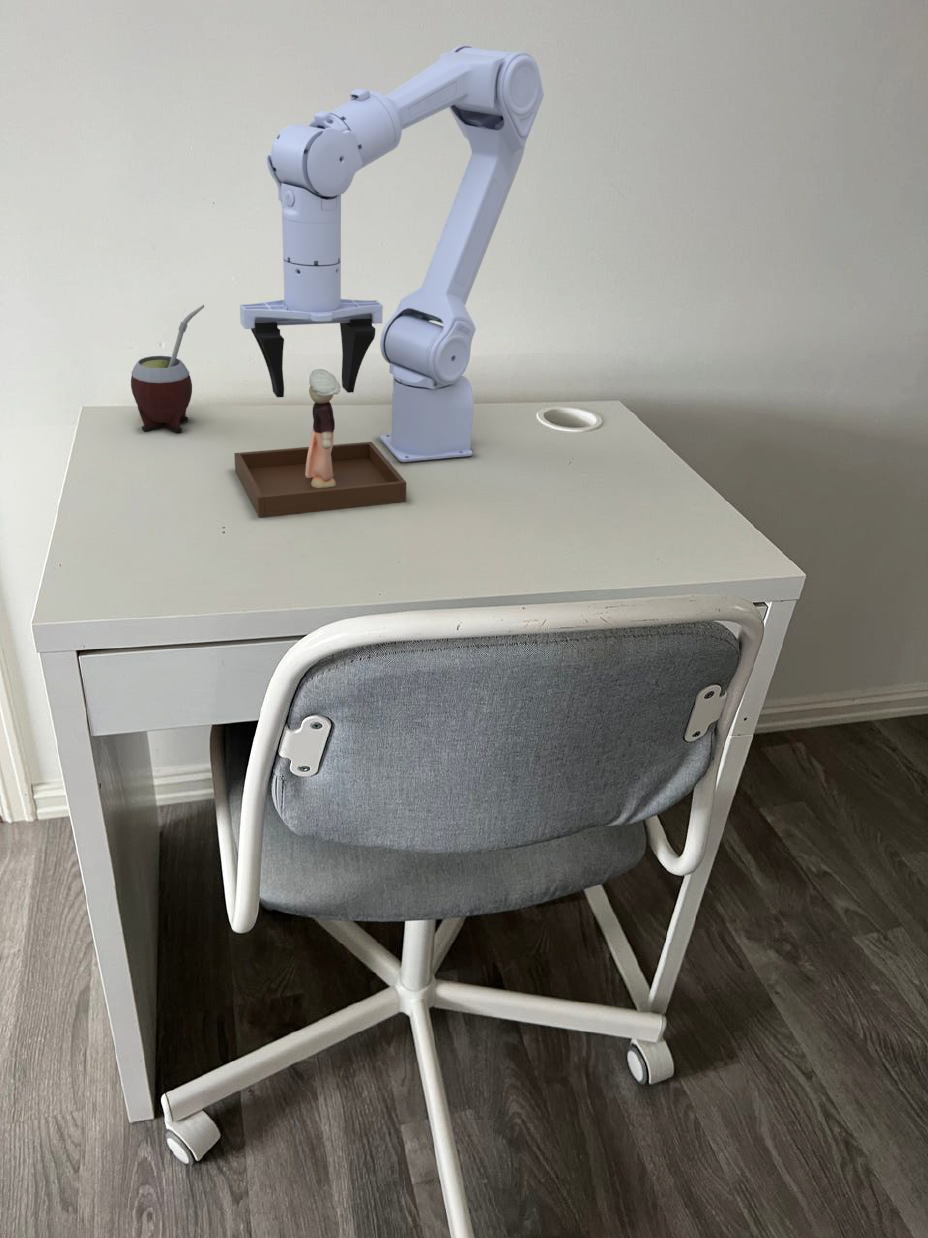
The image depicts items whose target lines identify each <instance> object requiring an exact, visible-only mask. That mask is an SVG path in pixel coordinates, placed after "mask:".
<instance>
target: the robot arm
mask: <svg viewBox="0 0 928 1238" xmlns="http://www.w3.org/2000/svg"><path fill="white" fill-rule="evenodd" d="M349 97H350V100H348V101H346V102H345V103H342V104H341V105H339V106H337V107H336V108H334V109H332V110H330V111H326V110H325V111H324V110H320V111H318V112H317V113H315V114H314V115H313V118H314V119H313V120H312V121H311V122H310V123H309V124H308V125H305V124H301V123H291V124H288V125H287V126H285V127H284V128H282V129H281V130H280V131H279V133H278V134H277V135H276V137H275V139H274V140H273V143H272V146H271V149H270V154H268V155H266V164H267V168H268V171H269V174H270V176H271V177H272V180H274V182H275V183H276V187H277V192H278V193H277V195H278V201H280V204H281V225H282V226H281V227H282V228H281V230H282V231H281V232H282V264H283V265H282V267H283V269H282V270H283V299H279V300H272V301H271V300H270V301H264V302H258V303H245V304H244V303H243V304H239V315H240V316H239V319H240V325H241V327H243V328H244V330H251V333H252V334H253V336H254V339H255V341H256V343H257V345H258V347H259V349H260V351H261V354H262V356H263V359H264V362H265V364H266V367H267V371H268V374H269V378H270V382H271V388H272V392H273V394H274V396H275V397H276V398H284V397H285V383H284V382H285V381H284V370H283V368H284V367H283V365H284V360H283V358H284V345H285V338H284V337H283V336H282V334H281V329H280V328H279V326H301V325H305V326H306V325H325V324H326V325H327V324H328V325H329V324H339V328H340V329H339V330H340V338H341V351H342V354H341V355H342V358H341V359H342V360H341V387H342V388H343V390H345V392H346V393H348V394H349V393H352V394H353V393H354V392H355V387H356V383H357V378H358V374H359V371H360V369H361V365H362V362H363V360H364V358H365V356H366V353H367V352H368V349H370V346H371V344H372V343H373V341H374V340H375V338H376V328H375V326H373V324H374V325H376V324H383V311H384V310H383V309H384V307H383V306H384V305H383V304H382V303H381V302H379V301H378V300H377V299H376V300H373V299H372V300H371V299H370V300H367V299H365V300H364V299H348V298H342V293H341V292H342V195H344V194H345V193H346V192H347V191H348V189H349V188H350V186H351V184H352V183H353V179H354V177H355V175H356V173H357V172H358V171H360V170H362V169H363V168H366V167H367V166H369V165H370V164H372V163H374V162H375V161H377V160H379V159H380V158H382V157H384V156H385V155H387V154H389V153H390V152H393V151H394V150H395V149H396V148H397V147H398V146H399V145H400V142H401V139H402V132H403V130H406V129H407V128H409V127H411V126H414V125H416V124H417V123H420V122H421V121H423V120H426V119H428V118H430V117H432V116H434V115H436V114H438V113H440V112H442V111H444V110H446V109H449V111H450V113H451V114H452V117H453V119H454V120H455V122H456V124H457V126H458V128H459V130H460V132H461V133H462V135H463V138H465V139H466V140H467V141H468V143H469V146H470V149H471V155H470V157H469V159H468V163H467V165H466V167H465V171H464V173H463V176H462V179H461V180H460V184H459V186H458V189H457V191H456V194H455V196H454V200H453V202H452V205H451V207H450V210H449V213H448V215H447V219H445V223H444V226H443V229H442V230H441V234H440V237H439V239H438V242H437V244H436V247H435V250H434V252H433V254H432V258H431V260H430V263H429V265H428V268H427V271H426V273H425V276H424V279H423V281H422V284H421V286H420V287H419V288H418V289H415V290H414V291H413V292H410V293H408V294H407V295H405V296H403V297H402V298H401V299H400V300H399V303H398V306H397V308H396V310H395V311H394V313H393V315H391V317H390V318H389V319H388V320H387V321H386V322H385V324H384V326H383V328H382V331H381V334H380V342H379V347H380V353H381V355H382V357H383V359H384V360H385V362H387V363H388V364H389V374H391V375H392V403H391V429H390V433H389V434H380V436H379V439H380V441H381V442H382V443H383V444H384V445H385V446H386V448H387V449H388V450H389V451H390V453H392V454H393V456H394V457H395V458H396V459H397V461H399V462H401V463H408V462H419V461H430V460H441V459H450V458H451V459H452V458H463V457H472V456H473V451H472V450H471V444H472V431H473V421H474V420H473V419H474V404H475V403H474V392H473V388H472V385H471V382H470V381H469V379H468V378H467V377H466V376H464V373H465V371H466V370H467V367H468V365H469V363H470V357H471V347H472V341H473V338H474V336H475V333H476V330H477V329H476V326H475V323H474V321H473V319H472V317H471V315H470V313H469V311H468V309H467V308H466V304H467V302H468V299H469V297H470V294H471V291H472V288H473V286H474V283H475V281H476V278H477V275H478V273H479V270H480V267H481V265H482V263H483V260H484V258H485V255H486V253H487V249H488V248H489V245H490V242H491V240H492V237H493V235H494V232H495V229H496V226H497V224H498V221H499V219H500V217H501V214H502V211H503V209H504V206H505V204H506V201H507V199H508V196H509V193H510V191H511V188H512V185H513V183H514V180H515V179H516V175H517V173H518V170H519V167H520V165H521V163H522V159H523V156H524V152H525V148H526V142H527V140H528V138H529V135H530V132H531V129H532V127H533V125H534V122H535V119H536V117H537V114H538V111H539V109H540V106H541V104H542V102H543V99H544V97H545V95H544V90H543V84H542V79H541V73H540V69H539V65H538V63H537V61H536V58H534V56H532V55H531V53H528V52H527V51H519V50H518V51H513V52H512V51H505V50H494V49H484V48H477V47H476V48H475V47H472V46H470V45H463V44H462V45H458V46H456V47H454V48H453V49H452V50H451V51H446V52H442V53H440V55H439V57H438V60H437V61H436V62H434V63H433V64H431V65H430V66H428V67H426V68H425V69H424V70H422V71H421V72H419V73H417V74H416V75H414V76H413V77H412V78H410V79H408V80H406V81H405V82H404V83H402V84H401V85H399V86H397V88H395V89H394V90H392V91H391V92H389V93H387V94H385V95H384V94H383V93H381V92H379V91H377V90H373V89H370V90H369V89H366V88H359V87H358V88H356V89H354V90H352V91H350V93H349ZM433 321H434V322H433ZM436 322H437V323H436ZM438 323H440V324H438ZM441 324H443V325H441Z"/></svg>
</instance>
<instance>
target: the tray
mask: <svg viewBox="0 0 928 1238" xmlns="http://www.w3.org/2000/svg"><path fill="white" fill-rule="evenodd" d="M308 450H309V446H304V447H303V446H302V447H291V448H290V447H289V448H278V449H266V450H255V451H244V452H242V451H241V452H234V453H233V454H234V455H233V457H234V472H235V474H236V476H237V478H238V479H239V482H240V484H241V485H242V487H243V489H244V491H245V493H246V495H247V497H248V499H249V501H250V504H251V505H252V508H253V509H254V511H255V513H256V515H257V516H258V518H267V517H268V518H269V517H277V516H286V515H287V516H288V515H295V514H304V513H311V512H312V513H313V512H322V511H333V510H341V509H350V508H361V507H370V506H378V505H388V504H396V503H405V502H407V481H406V480H405V479H404V478H403V477H402V475H401V474H400V473H399V471H397V469H396V468H395V467H394V466H393V465H392V464H391V462H390V461H389V460H388V459H387V458H386V456H385V455H384V454H383V453H382V452H381V450H379V448H378V446H376V445H375V443H374V442H373V441H362V442H351V443H340V444H333V447H332V451H331V460H332V470H333V474H334V477H333V479H334V480H335V481H336V486H334V487H328V488H315V487H313V486H312V485H311V482H312V479H313V478H312V477H311V478H307V477H306V476H305V472H306V462H307V455H308Z"/></svg>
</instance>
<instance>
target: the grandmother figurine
mask: <svg viewBox="0 0 928 1238" xmlns="http://www.w3.org/2000/svg"><path fill="white" fill-rule="evenodd" d="M308 392H309V396H310V398H311V400H312V401H313V402H314V404H313V405H312V413H311V414H312V419H313V425H312V432H311V436H310V440H309V445H308V447H309V450H308V455H307V462H306V472H305V476H306V477H307V478H311V477H312V478H313V479H312V482H311V485H312V486H313V487H315V488H328V487H334V486H336V481H335V480H334V479H333V477H334V474H333V470H332V460H331V451H332V447H333V445H334V437H335V433H334V432H335V428H336V425H335V416H334V410H333V409H334V408H333V406H332V404H331V402H330V401H331V400H332V399H333V397H334V395H338V394H340V392H341V384H340V383H339V382H338V380H337V378H336V377H335V375H334V374H332V373H331V372H330V371H328V370H326V369H323V368H318V369H314V370H312V371H311V373H310V375H309V389H308Z"/></svg>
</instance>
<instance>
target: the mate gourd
mask: <svg viewBox="0 0 928 1238" xmlns="http://www.w3.org/2000/svg"><path fill="white" fill-rule="evenodd" d="M203 309H205V304H203V305H201V306H199V307H197V308H196V309H195V310H193V311H191V312H190V313H188V315H187V316H186V317H184V318H183V320H182V321H180V323H179V327H178V333H177V336H176V340H175V343H174V347H173V351H172V354H171V356H169V355H151V356H146V357H145V356H144V357H143V358H140V359H138V360H137V362H136V363H135V365H134V366H133V368H132V370H131V376H130V377H131V378H130V388H131V394H132V395H133V398H134V401H135V404H136V406H137V411H138V413H139V416H140V418H141V420H142V423H143V426H141V430H142V432H144V433H146V432H152V431H154V430H159V429H167V430H169V431H171V432H173V433H175V434H181V433H183V428H182V427H181V426H180V424H183V423H187V422H189V416H187V409H188V407H189V405H190V404H191V403H190V402H191V399H192V394H193V383H192V377H191V374H190V371H189V370H188V367H187V366H186V365H185V363H184V362H183V361H182V360H181V359H180V358H178V354H179V350H180V347H181V344H182V340H183V337H184V333H186V331H187V328H188V324H189V322H190V321H191V320H192V319H193V318H194V317H195V316H196V315H197V314H198V313H199V312H201V311H202V310H203Z"/></svg>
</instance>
